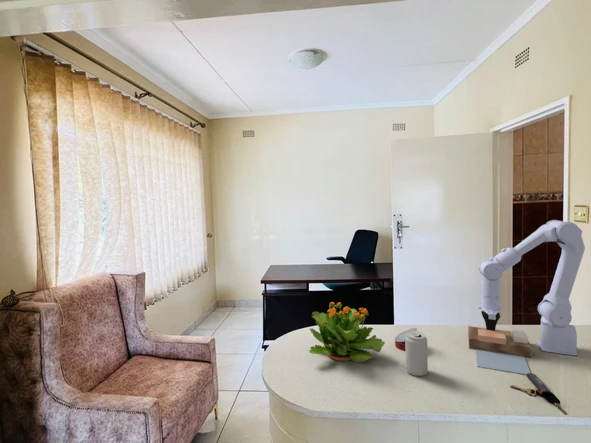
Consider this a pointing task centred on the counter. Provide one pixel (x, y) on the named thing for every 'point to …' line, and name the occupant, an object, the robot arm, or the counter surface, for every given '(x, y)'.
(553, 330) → the robot arm
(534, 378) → the usb stick
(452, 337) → the counter surface
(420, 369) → the beverage can
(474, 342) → the brown wooden block
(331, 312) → the potted flower
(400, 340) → the canned food
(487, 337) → the terracotta tile
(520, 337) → the cream tile
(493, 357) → the mat
